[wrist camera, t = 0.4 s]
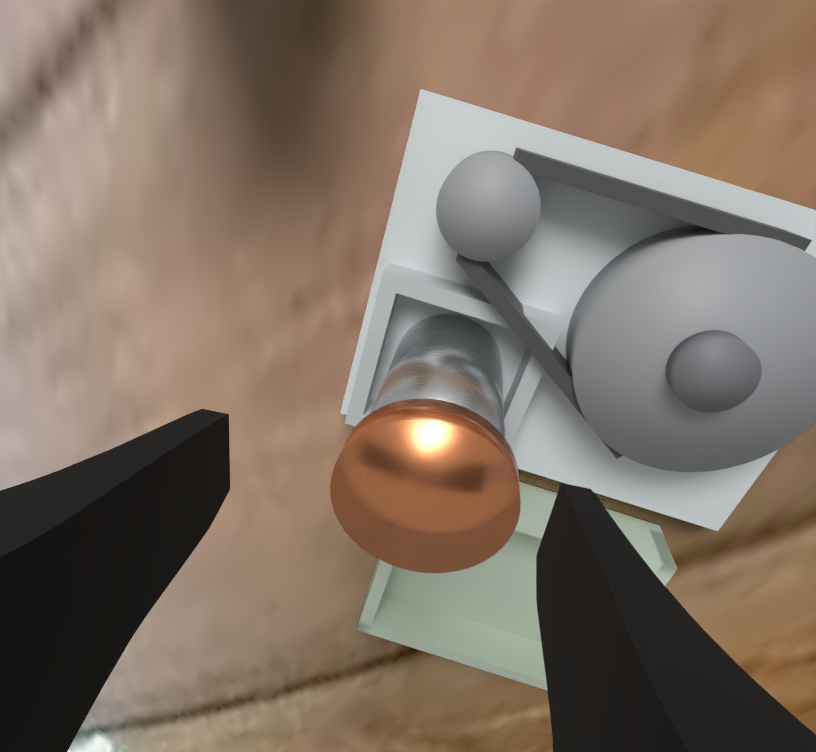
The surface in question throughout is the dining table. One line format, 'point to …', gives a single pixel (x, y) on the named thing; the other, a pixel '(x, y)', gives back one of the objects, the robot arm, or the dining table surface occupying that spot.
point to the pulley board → (557, 287)
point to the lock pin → (432, 455)
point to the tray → (488, 597)
